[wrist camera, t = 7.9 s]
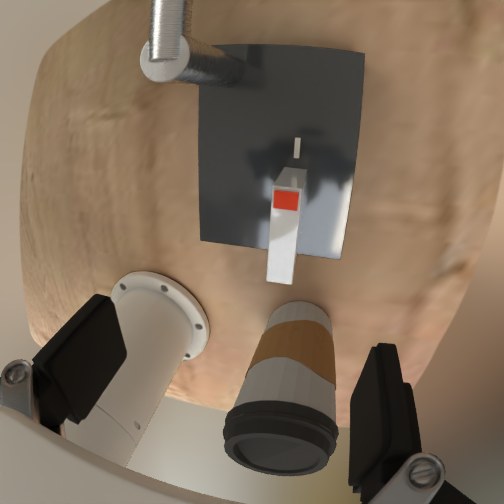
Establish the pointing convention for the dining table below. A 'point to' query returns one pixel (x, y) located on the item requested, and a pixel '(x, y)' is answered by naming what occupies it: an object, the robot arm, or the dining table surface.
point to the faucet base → (280, 143)
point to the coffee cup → (287, 397)
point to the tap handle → (285, 224)
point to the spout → (184, 51)
